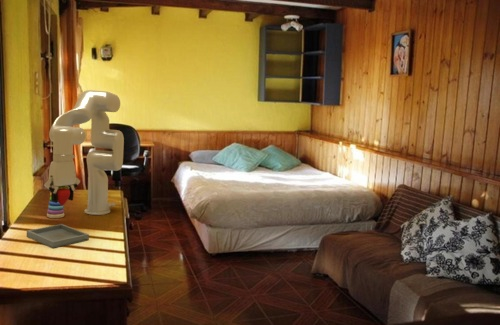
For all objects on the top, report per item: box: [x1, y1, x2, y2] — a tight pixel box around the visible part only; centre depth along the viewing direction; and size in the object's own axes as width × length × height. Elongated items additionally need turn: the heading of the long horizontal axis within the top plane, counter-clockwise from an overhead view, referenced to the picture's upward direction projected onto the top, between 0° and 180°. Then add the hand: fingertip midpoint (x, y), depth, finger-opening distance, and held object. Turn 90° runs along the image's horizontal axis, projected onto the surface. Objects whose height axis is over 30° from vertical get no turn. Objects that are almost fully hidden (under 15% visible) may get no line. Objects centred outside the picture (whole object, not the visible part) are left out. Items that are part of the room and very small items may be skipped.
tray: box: [26, 223, 90, 249], centre depth 198 cm, size 16×20×2 cm
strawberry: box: [56, 186, 70, 206], centre depth 197 cm, size 6×8×10 cm
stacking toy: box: [46, 192, 65, 219], centre depth 228 cm, size 8×8×19 cm
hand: (62, 200), depth 198 cm, fingers closed on strawberry, 6 cm apart
